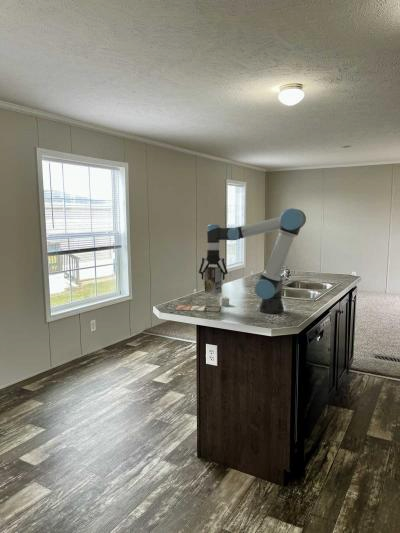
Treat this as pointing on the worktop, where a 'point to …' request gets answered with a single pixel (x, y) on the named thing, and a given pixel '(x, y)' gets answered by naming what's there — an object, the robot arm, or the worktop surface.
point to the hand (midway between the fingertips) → (213, 284)
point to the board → (194, 308)
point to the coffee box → (213, 280)
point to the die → (224, 301)
